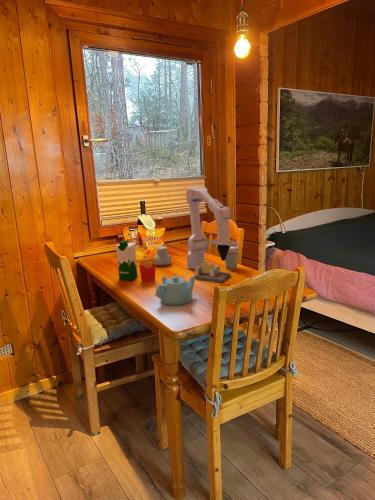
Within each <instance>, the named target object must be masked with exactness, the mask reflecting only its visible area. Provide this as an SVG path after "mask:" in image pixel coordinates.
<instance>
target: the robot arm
mask: <svg viewBox="0 0 375 500" xmlns="http://www.w3.org/2000/svg"><path fill="white" fill-rule="evenodd" d="M185 195H186V196H185V197H186V203H187V204H188V208H189V218H190V226H191V235H190V236H189V238H188V239H187V249H188V252H187V254H186V269H189V270H190V269H191V270H195V268H196V267H198V266H200V265H201V263H203V262H206V251H207V250H208V247H209V246H212V245H213V246H216V250H217V251H218V253H219V255H220V259H221V261H224V262H225V260H226V256H227V253H228V250H229V248H230V246H232V247H238V248H239V242H238V241H237V242H235V241H232V240H230V220H231V218H232V216H233V212H232V210H231V208H230V206H225V205H223V204H222V203H221V202H220V201H219V200H218V199H217V198H216V199H215V198H213V197H212V196H211V195H210V194H209V190H208V188H206V186H197V187H188V188H187V190H186V191H185ZM202 202H204V203H206V204H207V207H208V209H209V210H210V211H211V212H212V213H213V214H214V218H215V223H216V224H217V226H216V227H217V228H216V229H217V230H216V231H217V232H216V233H217V239H216V240H215V239H210V240H209V241H208V240H207V237H206V236H205V235H204V234H203V233H202V225H201V224H202V223H201V215H200V204H201V203H202Z"/></svg>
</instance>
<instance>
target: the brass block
mask: <svg viewBox="0 0 375 500" xmlns="http://www.w3.org/2000/svg"><path fill="white" fill-rule="evenodd" d="M214 266H216V265H215V262H208V261H205V262H203V263H201V275H205V276H210V269H211V268H213V267H214Z"/></svg>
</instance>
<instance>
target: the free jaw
mask: <svg viewBox="0 0 375 500" xmlns="http://www.w3.org/2000/svg"><path fill="white" fill-rule="evenodd" d="M220 272H221V265H219V264H218V265H215V266H214V267H213V268H211V269H210V277H215V276H217V275H218V274H220Z"/></svg>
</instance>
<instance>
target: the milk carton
mask: <svg viewBox="0 0 375 500" xmlns="http://www.w3.org/2000/svg"><path fill="white" fill-rule="evenodd" d="M136 247H137V243H136V242H128V240H120V241H119V244H117V245H116V246H115V251H116V255H117V256H116V257H117V265H118V266H117V267H118V280H119V281H124V282H125V281H127V282H132V281H134V280H135V279H136V278H138V269H137V255H136Z"/></svg>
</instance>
